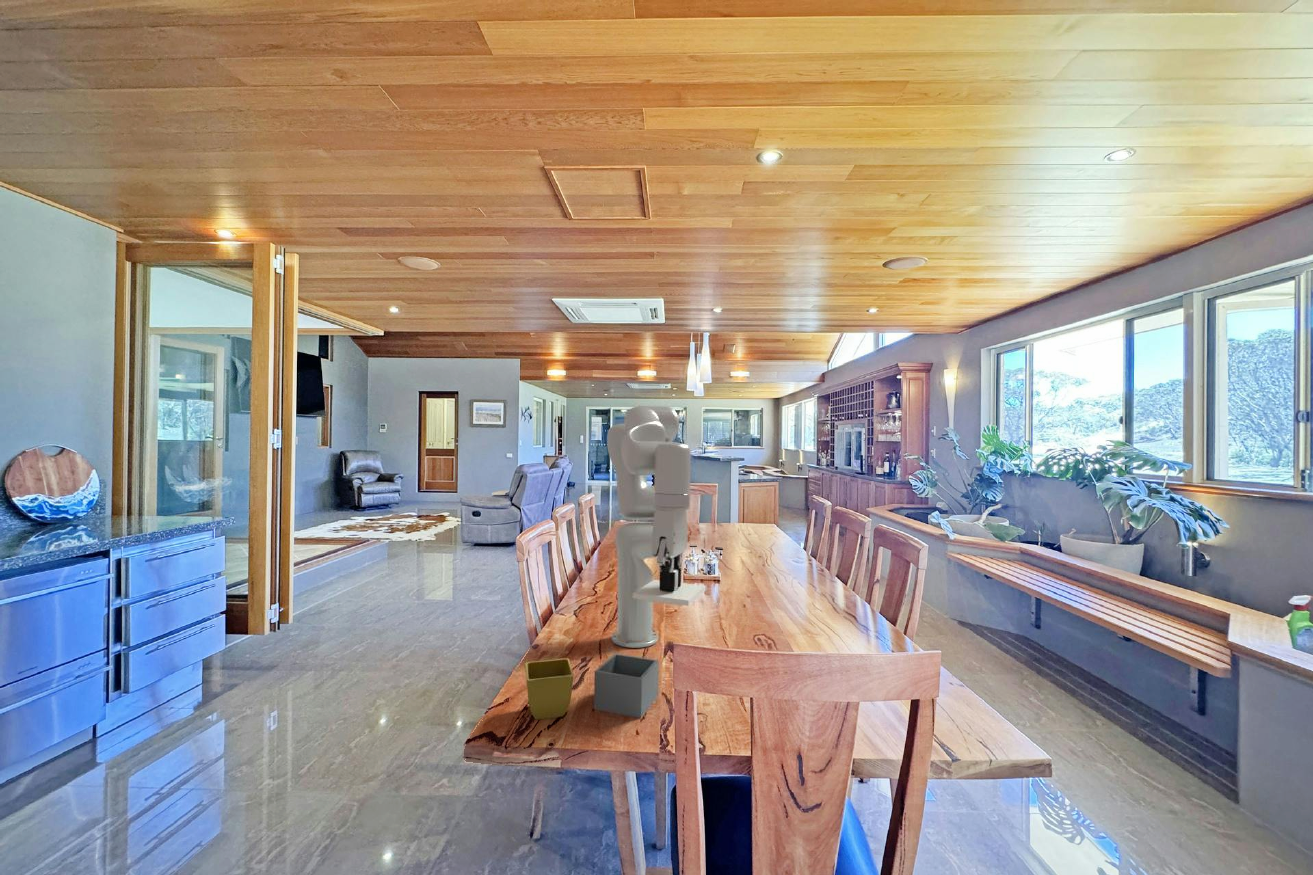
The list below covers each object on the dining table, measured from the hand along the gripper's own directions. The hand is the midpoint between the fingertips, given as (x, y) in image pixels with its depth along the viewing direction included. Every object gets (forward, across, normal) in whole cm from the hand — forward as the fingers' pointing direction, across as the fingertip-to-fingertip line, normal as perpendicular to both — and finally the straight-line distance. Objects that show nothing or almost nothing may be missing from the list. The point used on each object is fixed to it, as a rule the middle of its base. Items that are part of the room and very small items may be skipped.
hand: (670, 587), depth 116 cm
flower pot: (+23, +16, -19) cm, 34 cm away
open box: (+23, +7, -6) cm, 25 cm away
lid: (+1, 0, 0) cm, 1 cm away
